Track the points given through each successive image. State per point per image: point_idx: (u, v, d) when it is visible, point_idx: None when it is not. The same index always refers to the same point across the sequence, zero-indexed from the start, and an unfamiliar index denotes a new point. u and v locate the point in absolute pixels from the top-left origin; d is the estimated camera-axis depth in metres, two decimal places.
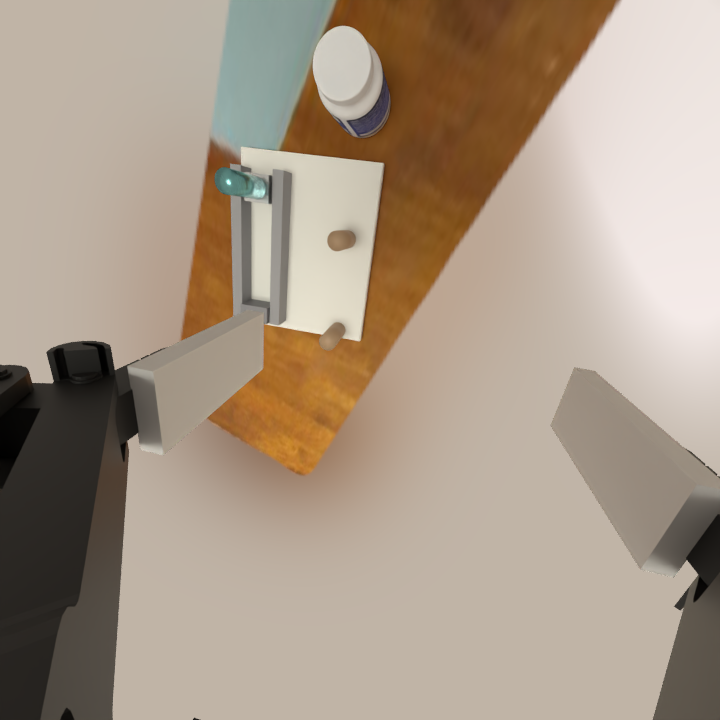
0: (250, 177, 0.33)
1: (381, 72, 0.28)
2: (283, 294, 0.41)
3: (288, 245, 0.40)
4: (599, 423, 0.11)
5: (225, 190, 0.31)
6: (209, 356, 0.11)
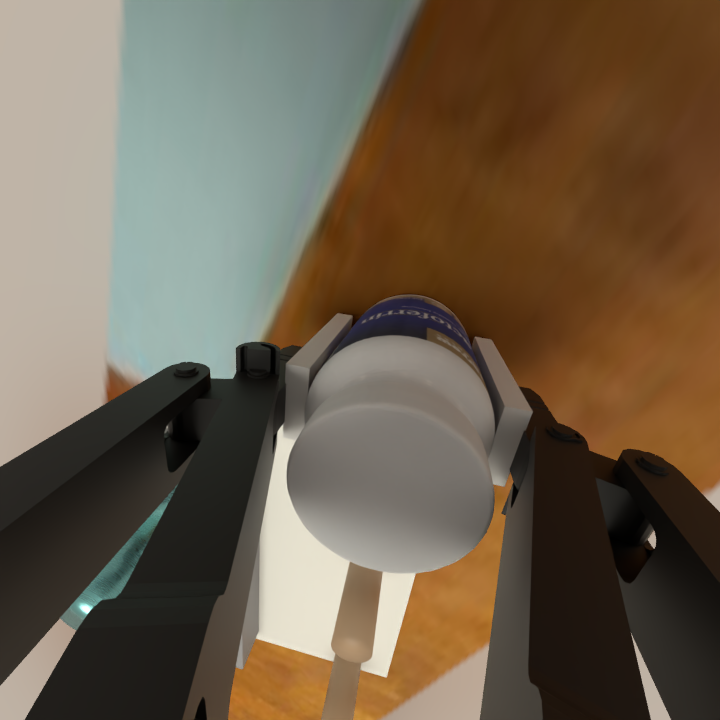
0: None
1: (493, 431, 0.09)
2: (251, 618, 0.23)
3: (258, 545, 0.22)
4: None
5: None
6: (329, 355, 0.12)
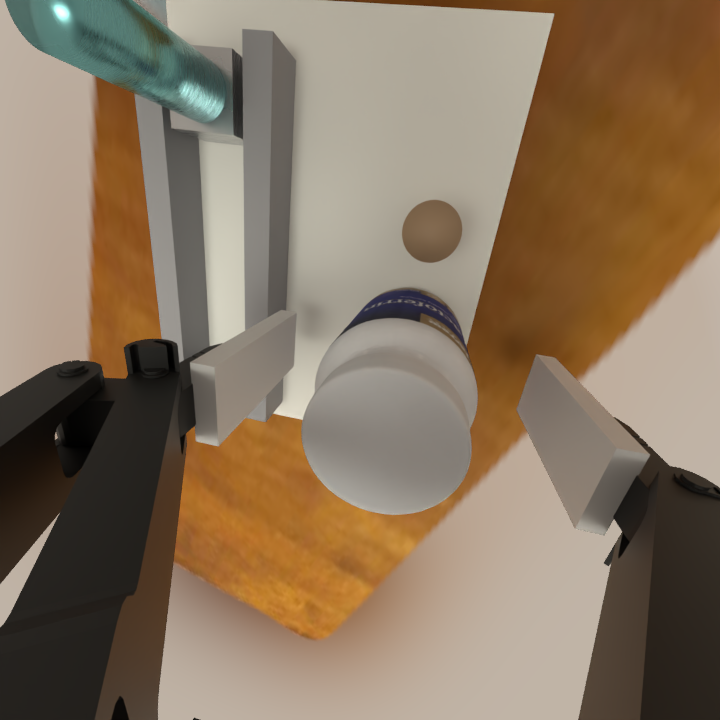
0: (165, 29, 0.10)
1: (476, 401, 0.11)
2: None
3: (287, 246, 0.17)
4: (552, 403, 0.12)
5: (48, 38, 0.08)
6: (255, 353, 0.12)
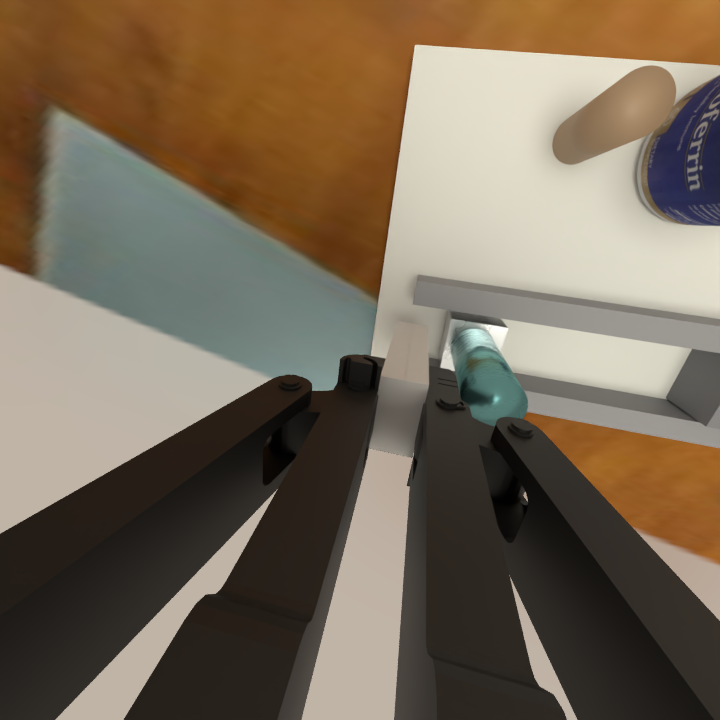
0: (468, 351, 0.15)
1: None
2: (692, 318, 0.16)
3: (560, 296, 0.18)
4: None
5: (516, 411, 0.12)
6: None
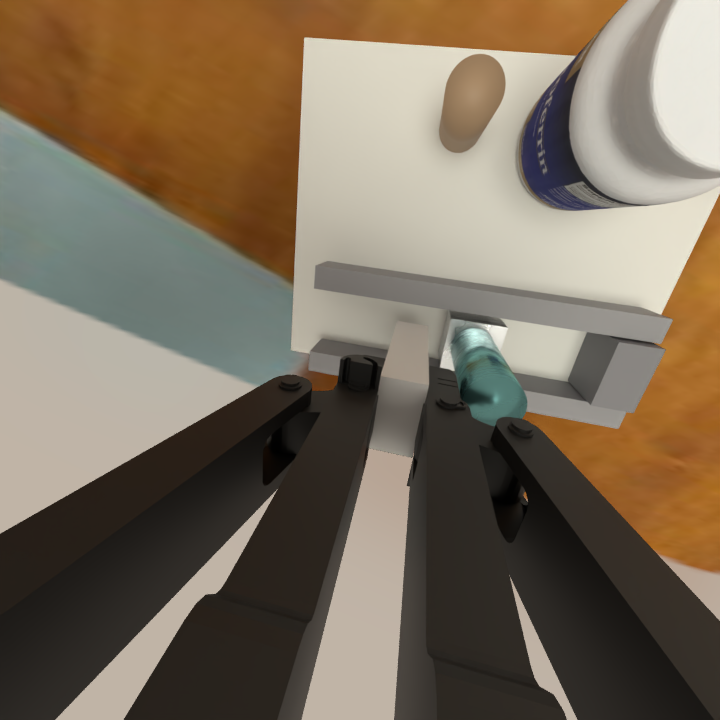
0: (467, 350, 0.15)
1: None
2: (577, 301, 0.17)
3: (461, 281, 0.19)
4: None
5: (516, 411, 0.12)
6: None
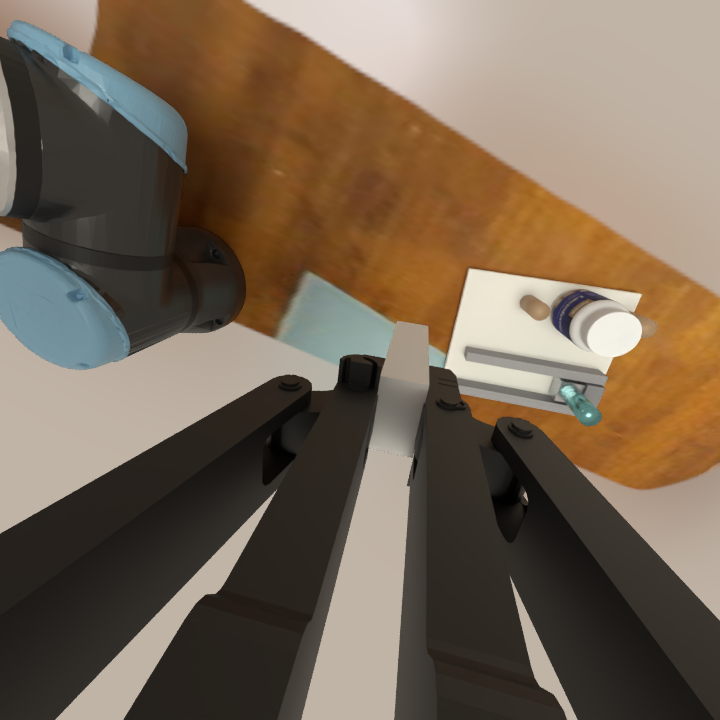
0: (574, 396, 0.40)
1: (605, 301, 0.34)
2: (572, 367, 0.43)
3: (524, 356, 0.45)
4: None
5: (597, 419, 0.37)
6: None
